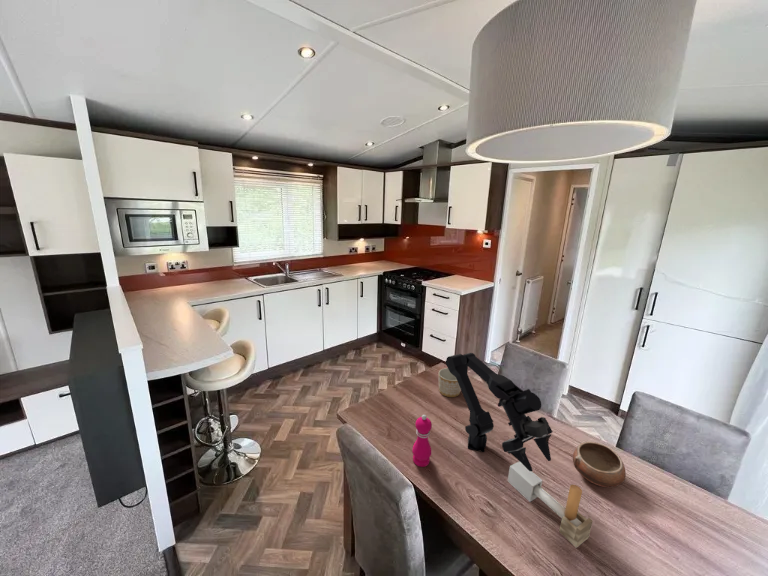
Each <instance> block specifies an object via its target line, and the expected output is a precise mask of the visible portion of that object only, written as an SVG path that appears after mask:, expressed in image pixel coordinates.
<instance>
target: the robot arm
mask: <svg viewBox="0 0 768 576" xmlns="http://www.w3.org/2000/svg"><path fill="white" fill-rule="evenodd" d="M445 365H446V367H447V368H448V369H449V371H450V373H451V374H453V375H454V376H455V377H456V379H457V381H458V384H459V386H460V389H461V390H460V392H461V394H462V395H463V396H462V397H463V398H464V401H465V404H466V406H467V408H468V411H469V419H468V421H469V424H468V425H465V427H464V428H465V432H466V433H467V434H468V438H467V449H470V450H472V451H473V450H474V451H477V452H482V453H484V452H485V451H486V450H485V448H487V442H488V441H487V440H488V437H487V436H488V435H487V434H488V433H490V432H493V430H494V426H495V424H494V420H493V418H492V415H491V413H490V412H489V411H485V410H484V409H483V407H482V405H481V403H480V401H479V399H478V396H477V393H476V391H475V389H474V387H473V386H474V385H473V383H472V382H471V379H470V377H469V374H468V369H471V371H472V372H474V373H475V374H476V375H478V377H479V378H480V379H482V380H483V382H485V383H486V384H487V387H488V390H489V391H490V392H491V394H492V395H494V397H495V398H496V399H499V401H498V403H497V407H498V408H499V407H500V408H501V407H503V409H504V412H505V414H506V416H507V419H508V420H509V422H507V424H508V426H509V427H510V426H512V429H513V431H514V433H515V434H514V435H513V437H514V438H509V439H507V440H505V441H502V443H501V448H502V451H503V452H504V453H507V454H511V455H512V456H513V458H514V457H515V459H517V461H518V462H519V461H520V462H521V463H522V464H523V465H524V466H525V467H526V468H527V469H528V470H529V471H532V472H533V468H532V464H531V462H530V460H529V458H528V456H527V453H526V450H527V447H526V446H525V447H524V443H527V442H528V441H530V440H533V441H534V443H535V444H536V445H537V447H538V448H539V451H540V452H541V453H542V454H543V456H544V457H545V459H546V460H547V461H548V462H551V461H552V457H551V452H550V447H549V446H550V445H549V444H550V443H549V440H550V438H551V437H552V433H554V431H553V429H552V428H551V426H550V424H549V422H548V420H547V418H546V417H544V416H541V417H538V418H537V420H532V417H530V415H526V414H531V413H534V412H537V411H541V408H542V402H541V399H540V397H539V396H538V395H537V394H536V393H534V392H532V391H531V390H530V388H527V389H525V390H523V389H521V388H520V387H519V386H518V385H516V384H515V383H514V382H513V381H512V380H511V379H510V378H508V377H506V376H505V375H502V374H498V373H497V372H496V371H493V369H491V368H490V367H488V366H487V365H486V364H485V363H484V362H483V361H481V359H479V358H478V357H477V356H476V354H474V353H473V352H468V353H464V354H461V353H457V354H454V355H450V356H447V357H446V359H445Z"/></svg>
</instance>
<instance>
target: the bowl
mask: <svg viewBox="0 0 768 576" xmlns="http://www.w3.org/2000/svg"><path fill="white" fill-rule="evenodd" d="M572 463H573V466H574V468H575V469H576V471H577V472H578V473H579V475H581V476H582V477H583V478H584V479H586V480H587V481H589V482H590V483H592V484H594V485H596V486H599V487H604V488H615V487H618V486H620V485H621V484H622V483H624V481H625V479H626V474H627V473H626V472H627V471H626V467H625V464H624V462H623V460H622V458H621V457H620V456H619V454H618V453H617V452H616V451H615V450H613V448H611V447H609V446H607V445H605V444H603V443H599V442H594V441H584V442H582V443H580V444H578V445H577V446H576V447H575V449H574V451H573V454H572Z"/></svg>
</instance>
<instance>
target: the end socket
mask: <svg viewBox="0 0 768 576" xmlns="http://www.w3.org/2000/svg"><path fill="white" fill-rule="evenodd" d="M576 518H577V519H578V520H579V521H581V522H582V524H580V525H579V526H578V527H576V526H575V525H574V524H573V523H571V522H570V521H569V520H568V519H567V518H566V517H565V516H564V517H562V518H561V522H560V527H559V533H560V534H561V535H562V537H564V539H566V540H567V541H568V542H569V543H570V544H571V545H573V547H575V548H576V549H577V548H578V547H579V546H581V545H582V544H583V543H584V542H585V541H586V540H588V539H589V538H590V535H591V529H592V525H593V521H594V520H592V518H591V517H588V518H586V516H584V514H582V513H580V511H578V512H577V516H576Z"/></svg>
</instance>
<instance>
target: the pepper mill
mask: <svg viewBox="0 0 768 576" xmlns="http://www.w3.org/2000/svg"><path fill="white" fill-rule="evenodd" d="M415 429H416V431H415V433H416V435H417V438H416V440H415V442H414V443H413V446H412V451H411V452H412V461H413V463H414V464H415V465H416V466H417V467H419V468H420V467H421V468H423V467H427V466H428V465H429V464H430V457H431V456H432V447H431V444H430V442H429V437H430V435H431V430H432V421H431V420H430V418H429V417H427V415H426V414H422V415H421V416H420V417H418V418H417V419H416V420H415Z"/></svg>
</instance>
